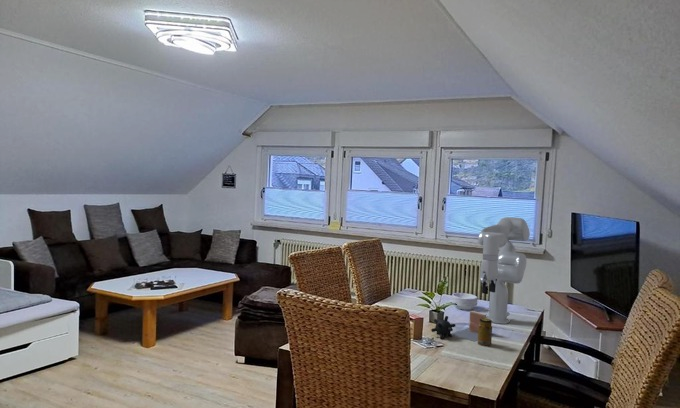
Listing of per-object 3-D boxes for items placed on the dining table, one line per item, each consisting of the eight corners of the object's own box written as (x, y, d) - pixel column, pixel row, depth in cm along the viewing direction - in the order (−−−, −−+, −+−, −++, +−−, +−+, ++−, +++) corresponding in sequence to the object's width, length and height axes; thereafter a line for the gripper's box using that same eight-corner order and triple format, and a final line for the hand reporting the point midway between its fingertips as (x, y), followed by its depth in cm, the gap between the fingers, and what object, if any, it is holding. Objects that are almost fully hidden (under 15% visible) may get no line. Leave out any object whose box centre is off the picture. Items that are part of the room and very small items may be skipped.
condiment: (484, 342, 216) (486, 316, 216) (498, 348, 209) (499, 321, 208) (472, 343, 213) (474, 318, 213) (486, 349, 206) (487, 323, 205)
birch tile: (471, 330, 233) (472, 310, 233) (485, 334, 227) (486, 314, 227) (468, 331, 232) (469, 311, 231) (483, 335, 226) (484, 315, 225)
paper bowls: (473, 313, 270) (474, 299, 270) (448, 308, 278) (448, 295, 278) (479, 308, 283) (480, 295, 283) (455, 304, 291) (456, 291, 291)
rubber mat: (471, 328, 239) (471, 327, 239) (496, 335, 228) (496, 334, 228) (448, 334, 225) (448, 334, 225) (474, 342, 215) (474, 341, 215)
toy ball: (427, 325, 228) (451, 320, 229) (434, 345, 221) (458, 339, 222) (428, 315, 221) (452, 309, 221) (435, 335, 213) (460, 329, 214)
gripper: (492, 255, 243) (490, 289, 244) (474, 258, 231) (472, 293, 232) (505, 257, 238) (503, 292, 238) (488, 260, 226) (486, 296, 226)
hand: (488, 292), depth 235 cm, fingers open, 6 cm apart
